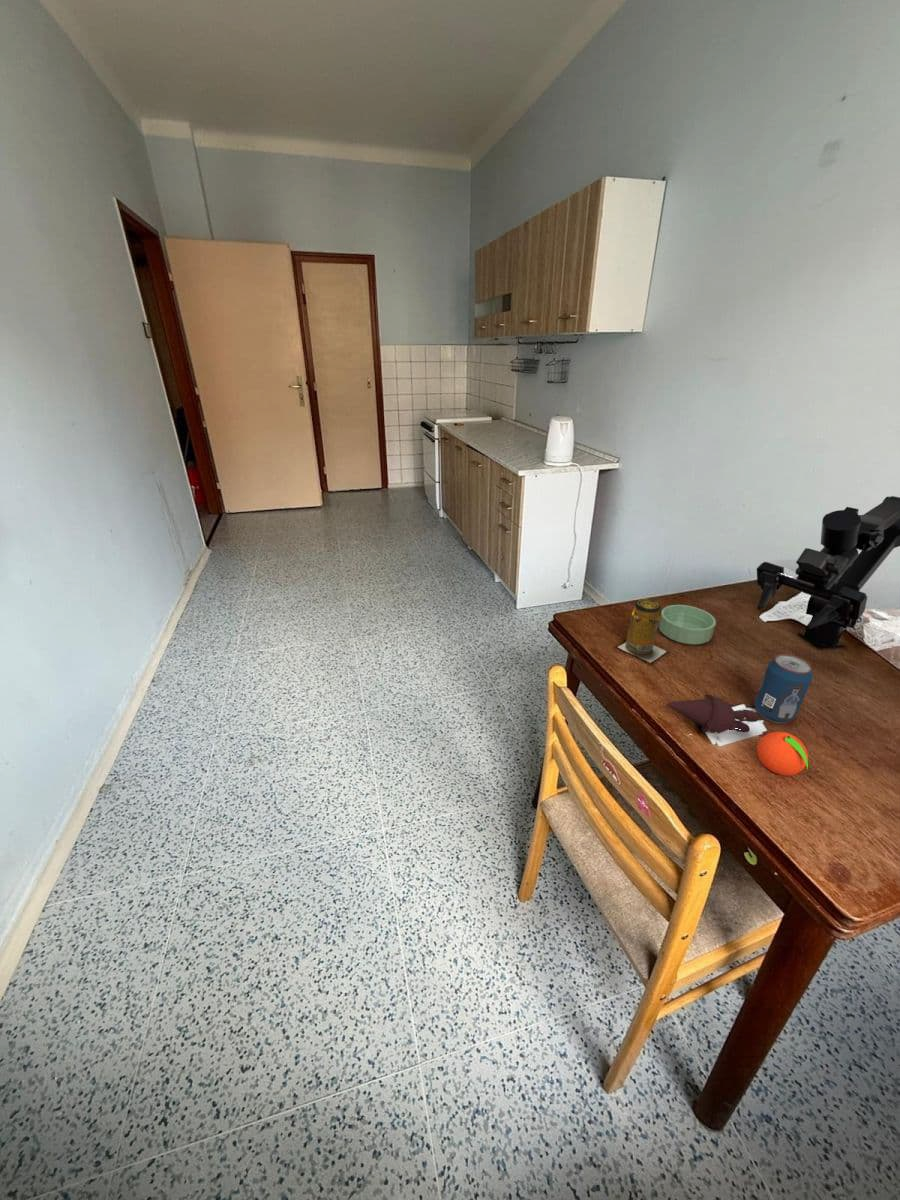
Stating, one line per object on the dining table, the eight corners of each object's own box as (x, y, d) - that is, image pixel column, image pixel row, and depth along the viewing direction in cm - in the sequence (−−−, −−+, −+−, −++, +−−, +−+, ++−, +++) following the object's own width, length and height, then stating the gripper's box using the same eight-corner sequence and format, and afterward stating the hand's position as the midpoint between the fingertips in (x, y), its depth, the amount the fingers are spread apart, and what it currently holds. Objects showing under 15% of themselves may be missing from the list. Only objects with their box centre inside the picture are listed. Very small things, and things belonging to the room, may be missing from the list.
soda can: (767, 697, 96) (786, 648, 90) (802, 718, 90) (825, 667, 84) (744, 707, 93) (762, 658, 87) (779, 730, 88) (800, 678, 82)
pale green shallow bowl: (693, 618, 124) (697, 603, 122) (722, 643, 113) (727, 627, 111) (649, 621, 123) (652, 606, 120) (673, 647, 112) (677, 631, 110)
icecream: (673, 709, 84) (766, 731, 80) (672, 677, 89) (759, 696, 85) (661, 730, 88) (749, 751, 85) (661, 698, 94) (743, 717, 90)
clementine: (816, 785, 77) (832, 753, 73) (779, 793, 75) (794, 761, 72) (776, 749, 83) (789, 719, 80) (742, 756, 82) (754, 725, 79)
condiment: (634, 637, 116) (642, 594, 111) (666, 651, 110) (677, 607, 105) (617, 648, 112) (625, 604, 106) (650, 664, 106) (660, 618, 101)
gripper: (780, 524, 98) (733, 574, 95) (891, 552, 84) (839, 612, 81) (780, 560, 105) (736, 608, 103) (882, 592, 91) (834, 648, 89)
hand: (782, 617), depth 94 cm, fingers open, 9 cm apart
